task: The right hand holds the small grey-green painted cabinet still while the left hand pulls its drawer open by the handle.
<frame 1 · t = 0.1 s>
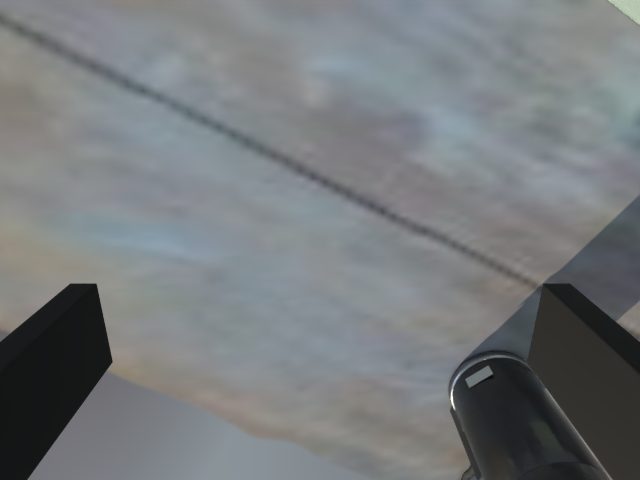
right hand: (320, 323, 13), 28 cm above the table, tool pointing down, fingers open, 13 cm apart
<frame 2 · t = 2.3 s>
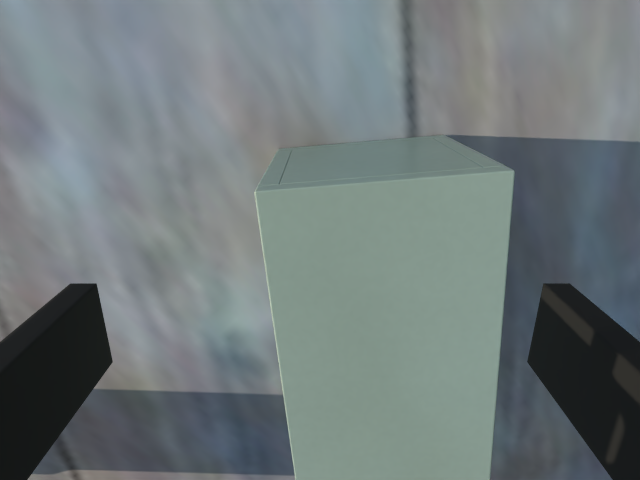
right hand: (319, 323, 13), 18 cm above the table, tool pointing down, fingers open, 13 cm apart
cabinet: (367, 285, 32), on the table
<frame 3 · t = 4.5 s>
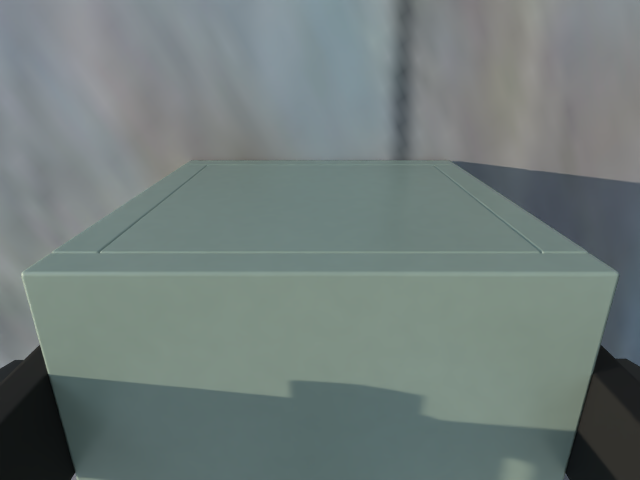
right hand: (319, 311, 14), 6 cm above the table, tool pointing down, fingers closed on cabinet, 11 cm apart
cabinet: (320, 369, 22), on the table, touching right hand
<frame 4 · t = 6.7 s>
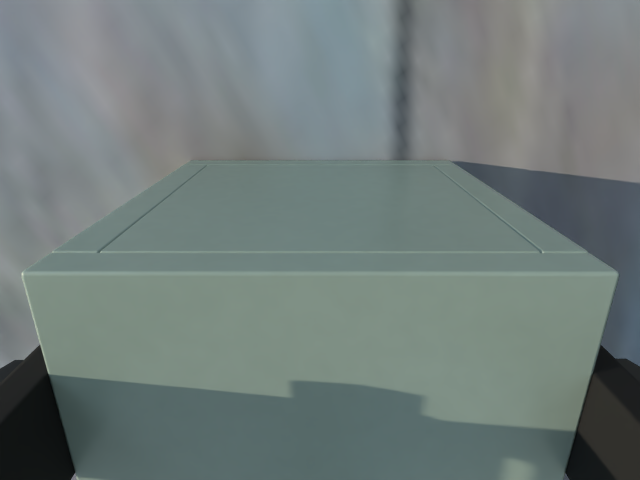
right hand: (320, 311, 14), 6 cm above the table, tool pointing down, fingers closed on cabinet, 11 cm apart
cabinet: (320, 369, 22), on the table, touching right hand
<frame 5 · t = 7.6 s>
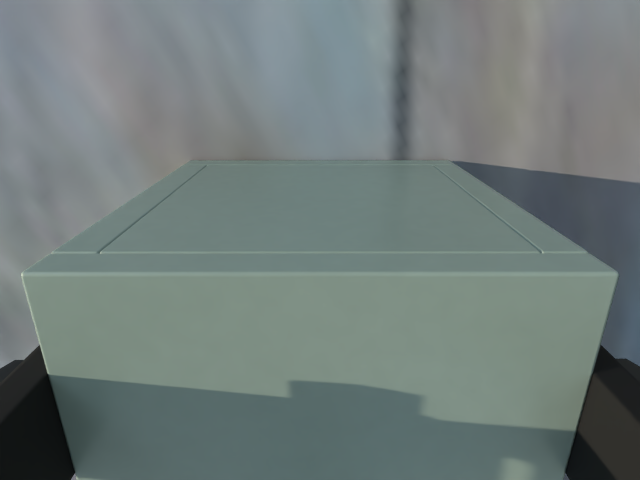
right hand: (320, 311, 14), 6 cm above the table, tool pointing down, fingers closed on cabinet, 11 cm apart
cabinet: (320, 369, 22), on the table, touching right hand
when the right hand's fingers open (6 cm above the table, at t = 9.3 s): cabinet stays where it is, on the table.
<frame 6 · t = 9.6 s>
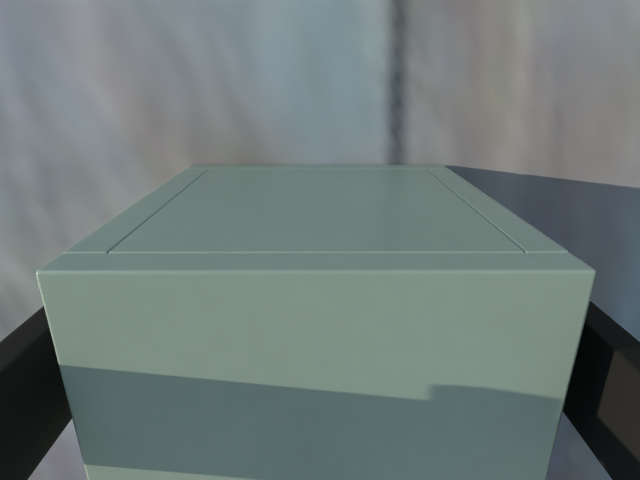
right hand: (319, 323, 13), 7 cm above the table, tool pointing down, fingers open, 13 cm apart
cabinet: (317, 369, 22), on the table
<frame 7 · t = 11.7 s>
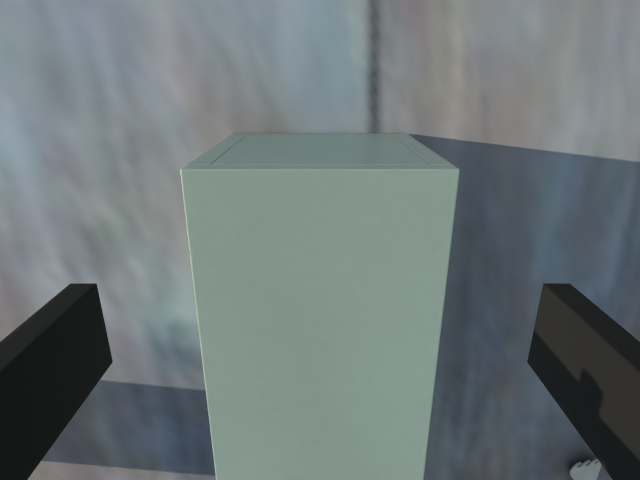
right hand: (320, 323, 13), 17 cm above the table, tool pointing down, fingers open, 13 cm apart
cabinet: (319, 285, 31), on the table
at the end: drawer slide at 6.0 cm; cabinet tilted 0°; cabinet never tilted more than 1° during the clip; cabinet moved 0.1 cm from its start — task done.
